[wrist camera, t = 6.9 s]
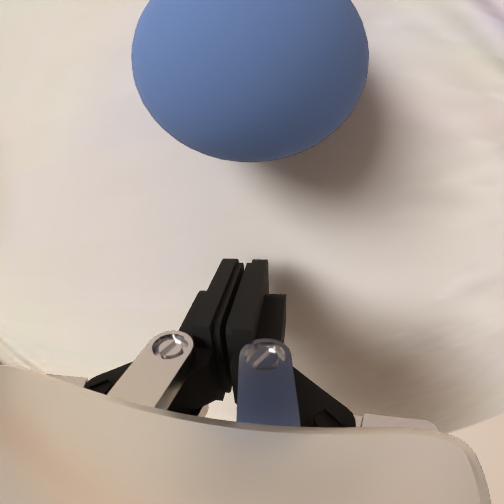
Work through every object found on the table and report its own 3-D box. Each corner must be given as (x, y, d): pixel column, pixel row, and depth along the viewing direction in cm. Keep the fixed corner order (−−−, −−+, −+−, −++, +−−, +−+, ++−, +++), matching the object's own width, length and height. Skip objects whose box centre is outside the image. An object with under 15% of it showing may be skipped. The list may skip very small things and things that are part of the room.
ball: (136, -68, 3) (217, 18, 9) (51, 132, 5) (178, 153, 11) (387, -78, 2) (370, 37, 8) (348, 186, 4) (339, 190, 9)
